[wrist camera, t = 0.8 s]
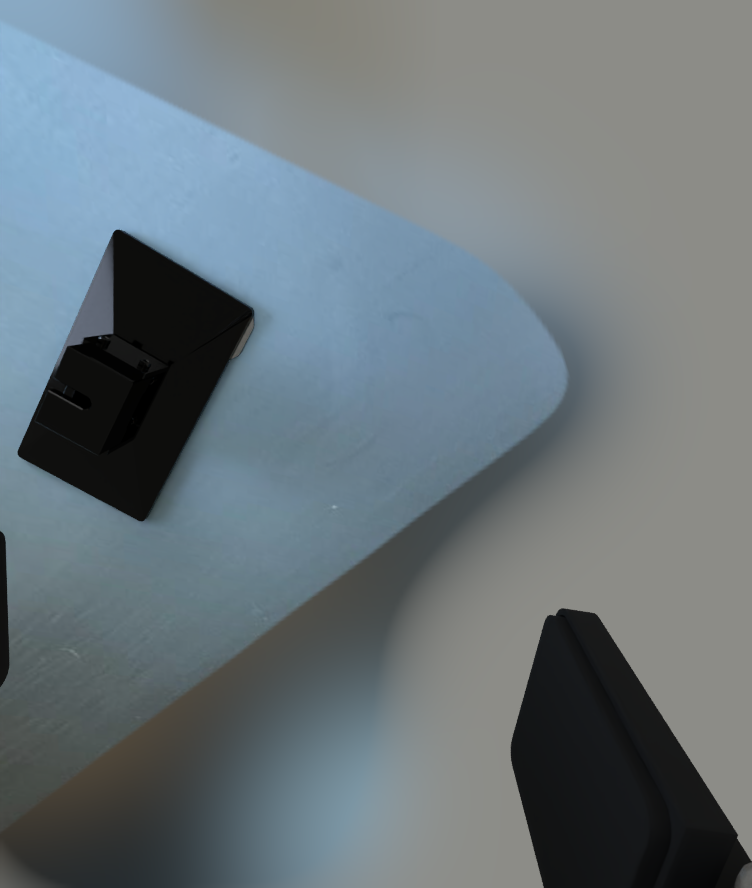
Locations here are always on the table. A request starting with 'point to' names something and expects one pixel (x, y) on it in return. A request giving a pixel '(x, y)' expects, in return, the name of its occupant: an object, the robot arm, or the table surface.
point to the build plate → (134, 376)
